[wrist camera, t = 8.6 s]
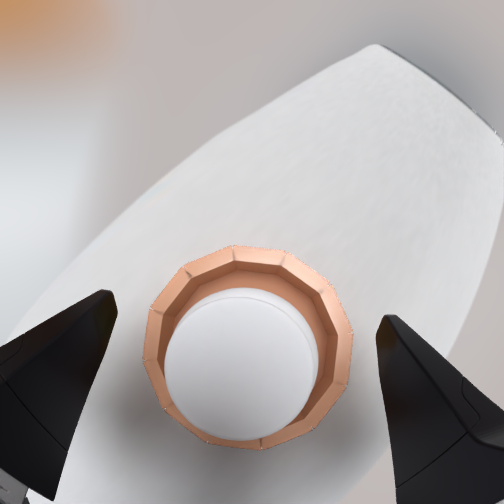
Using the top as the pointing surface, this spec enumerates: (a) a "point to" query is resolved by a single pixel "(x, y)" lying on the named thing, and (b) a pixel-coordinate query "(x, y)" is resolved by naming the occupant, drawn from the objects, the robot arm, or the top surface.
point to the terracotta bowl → (271, 280)
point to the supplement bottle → (241, 364)
